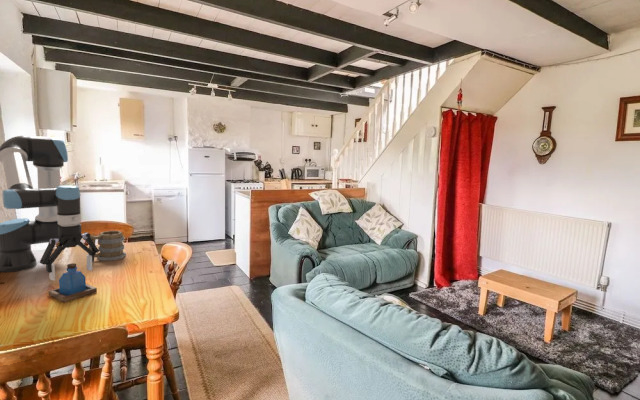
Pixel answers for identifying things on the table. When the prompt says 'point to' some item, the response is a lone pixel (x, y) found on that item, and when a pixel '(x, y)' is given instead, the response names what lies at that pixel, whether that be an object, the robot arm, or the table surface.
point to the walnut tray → (63, 298)
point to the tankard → (109, 245)
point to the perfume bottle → (72, 281)
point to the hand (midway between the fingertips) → (71, 274)
